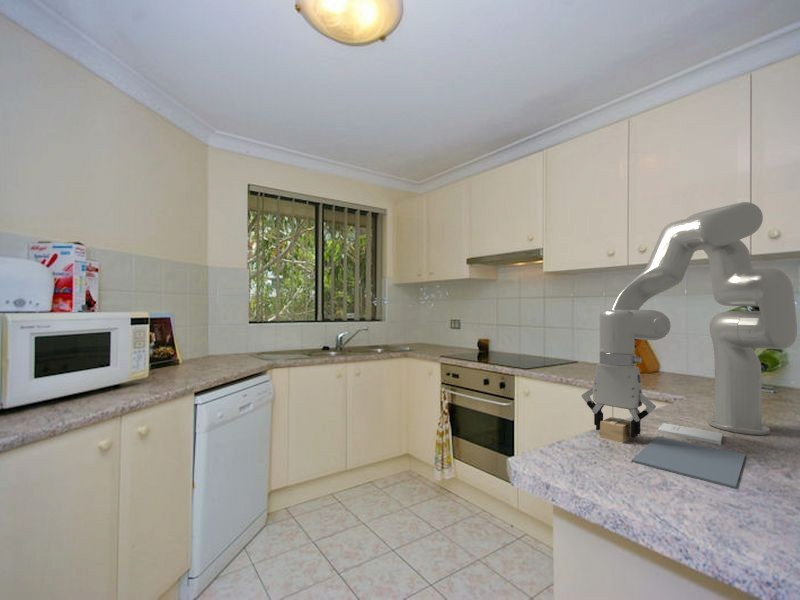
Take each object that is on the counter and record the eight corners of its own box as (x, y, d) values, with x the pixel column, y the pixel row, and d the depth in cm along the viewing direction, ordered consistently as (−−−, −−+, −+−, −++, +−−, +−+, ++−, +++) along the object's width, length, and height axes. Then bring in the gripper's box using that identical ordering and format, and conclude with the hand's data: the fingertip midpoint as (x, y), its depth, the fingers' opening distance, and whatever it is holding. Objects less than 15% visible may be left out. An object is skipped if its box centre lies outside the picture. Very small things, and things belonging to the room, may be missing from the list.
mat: (657, 438, 93) (657, 436, 93) (745, 456, 82) (745, 454, 82) (631, 461, 78) (631, 459, 78) (735, 488, 66) (735, 486, 66)
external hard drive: (721, 447, 89) (657, 434, 98) (723, 439, 95) (663, 427, 104) (721, 440, 89) (657, 428, 98) (723, 432, 95) (663, 421, 104)
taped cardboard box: (610, 432, 98) (611, 416, 98) (632, 437, 94) (632, 420, 94) (600, 438, 93) (600, 420, 93) (622, 443, 89) (622, 425, 89)
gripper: (662, 362, 90) (662, 438, 90) (585, 355, 103) (585, 422, 102) (654, 365, 85) (654, 445, 85) (574, 357, 97) (574, 427, 97)
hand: (616, 432), depth 93 cm, fingers open, 7 cm apart
